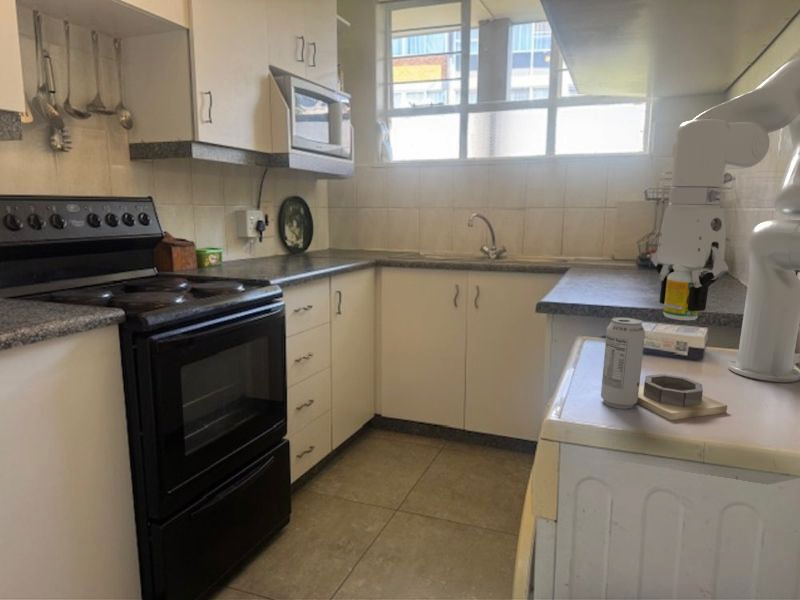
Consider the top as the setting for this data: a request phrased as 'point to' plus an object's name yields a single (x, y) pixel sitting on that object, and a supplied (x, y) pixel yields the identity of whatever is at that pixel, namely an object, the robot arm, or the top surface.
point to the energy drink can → (622, 362)
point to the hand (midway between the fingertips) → (681, 305)
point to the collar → (676, 397)
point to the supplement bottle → (679, 294)
